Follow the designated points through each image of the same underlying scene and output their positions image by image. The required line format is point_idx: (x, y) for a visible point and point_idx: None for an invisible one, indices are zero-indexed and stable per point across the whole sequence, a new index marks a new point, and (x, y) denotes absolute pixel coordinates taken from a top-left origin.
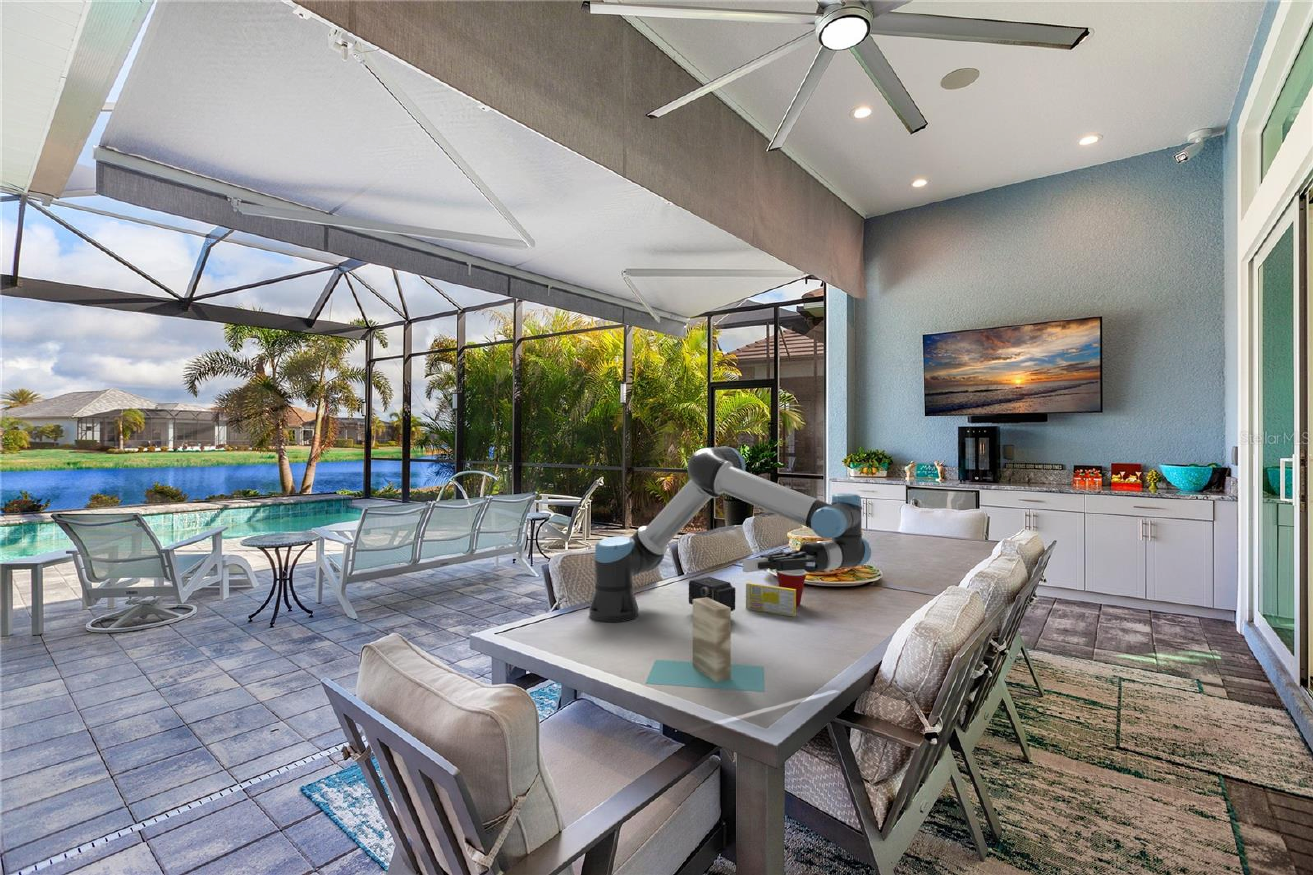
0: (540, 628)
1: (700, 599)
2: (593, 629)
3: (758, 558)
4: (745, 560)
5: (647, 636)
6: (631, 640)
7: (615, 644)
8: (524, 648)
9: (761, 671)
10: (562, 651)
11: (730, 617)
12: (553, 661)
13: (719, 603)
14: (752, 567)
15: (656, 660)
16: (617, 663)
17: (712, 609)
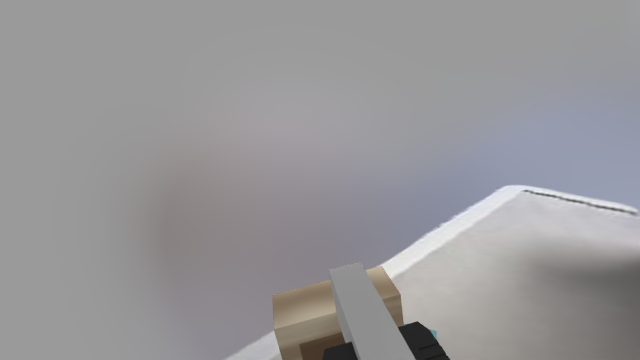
0: (568, 212)
1: (376, 279)
2: (603, 258)
3: (394, 341)
4: (348, 269)
5: (609, 336)
6: (560, 307)
7: (524, 285)
8: (476, 212)
9: None
10: (472, 237)
11: (280, 351)
12: (434, 234)
13: (326, 312)
14: (343, 329)
15: (432, 332)
16: (429, 286)
17: (287, 292)
